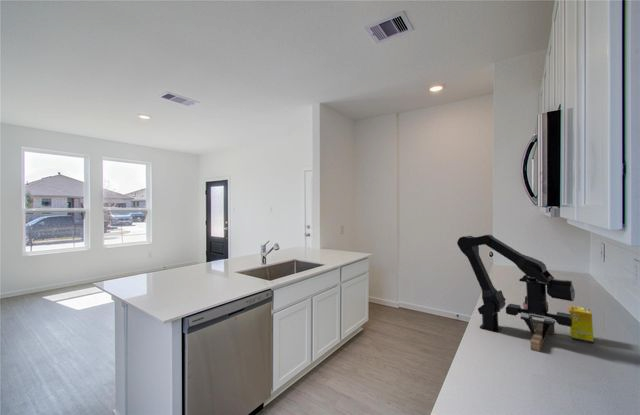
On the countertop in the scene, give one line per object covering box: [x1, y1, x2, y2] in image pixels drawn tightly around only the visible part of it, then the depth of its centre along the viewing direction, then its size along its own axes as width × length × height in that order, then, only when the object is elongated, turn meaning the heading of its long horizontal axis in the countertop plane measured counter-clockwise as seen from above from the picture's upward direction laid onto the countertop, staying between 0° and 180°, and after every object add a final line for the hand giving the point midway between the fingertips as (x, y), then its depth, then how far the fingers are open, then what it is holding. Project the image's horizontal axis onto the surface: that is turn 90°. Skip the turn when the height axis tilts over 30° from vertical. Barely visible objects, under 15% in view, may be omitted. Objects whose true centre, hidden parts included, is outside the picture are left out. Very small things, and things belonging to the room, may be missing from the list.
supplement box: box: [568, 305, 595, 344], centre depth 100 cm, size 6×6×11 cm
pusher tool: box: [529, 318, 556, 353], centre depth 100 cm, size 21×7×4 cm, turn 134°
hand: (538, 337), depth 99 cm, fingers closed on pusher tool, 2 cm apart
